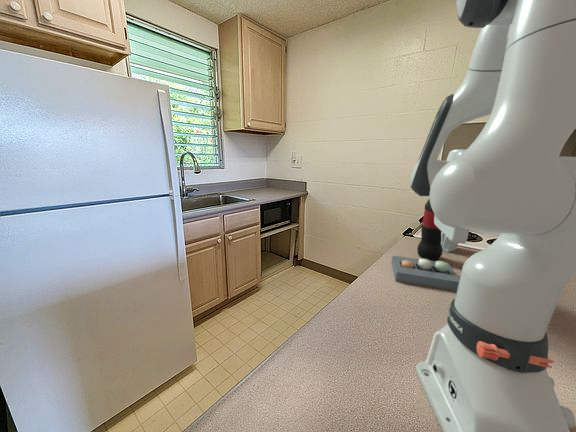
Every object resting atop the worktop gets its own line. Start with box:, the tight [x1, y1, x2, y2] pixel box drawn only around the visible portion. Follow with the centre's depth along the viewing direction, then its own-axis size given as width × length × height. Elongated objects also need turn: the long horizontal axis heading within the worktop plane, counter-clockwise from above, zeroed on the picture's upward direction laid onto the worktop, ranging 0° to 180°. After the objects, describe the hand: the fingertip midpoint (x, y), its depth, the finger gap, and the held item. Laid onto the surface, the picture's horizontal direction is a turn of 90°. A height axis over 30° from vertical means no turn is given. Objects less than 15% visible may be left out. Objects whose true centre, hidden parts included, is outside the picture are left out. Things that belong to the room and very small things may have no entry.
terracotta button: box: [401, 260, 414, 268], centre depth 82 cm, size 4×4×2 cm
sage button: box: [435, 260, 450, 272], centre depth 79 cm, size 4×4×2 cm
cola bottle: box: [417, 197, 443, 261], centre depth 92 cm, size 8×8×30 cm
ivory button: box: [418, 258, 432, 269], centre depth 80 cm, size 4×4×2 cm
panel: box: [391, 255, 460, 292], centre depth 81 cm, size 14×18×3 cm
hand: (444, 246), depth 77 cm, fingers closed
